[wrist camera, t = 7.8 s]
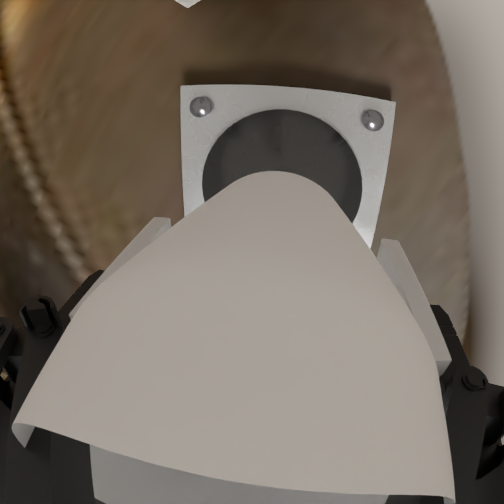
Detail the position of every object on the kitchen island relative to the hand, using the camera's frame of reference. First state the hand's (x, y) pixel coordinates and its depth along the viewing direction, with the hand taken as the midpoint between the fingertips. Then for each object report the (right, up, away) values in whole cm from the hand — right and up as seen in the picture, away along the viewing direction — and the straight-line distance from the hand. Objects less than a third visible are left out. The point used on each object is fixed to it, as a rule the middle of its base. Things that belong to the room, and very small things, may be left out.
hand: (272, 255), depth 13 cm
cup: (0, +1, +1) cm, 2 cm away
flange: (+1, +5, +9) cm, 10 cm away
